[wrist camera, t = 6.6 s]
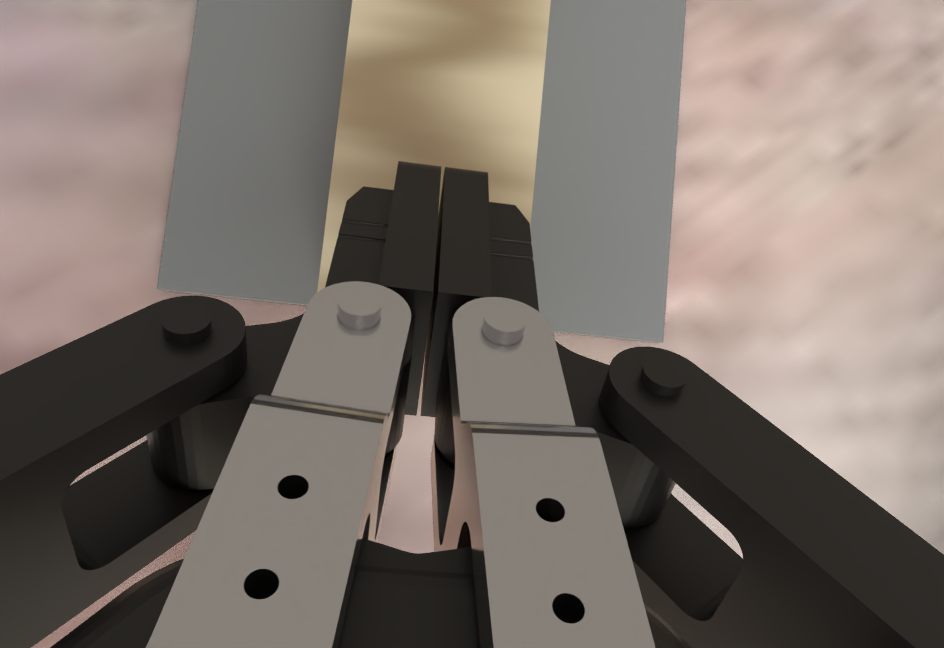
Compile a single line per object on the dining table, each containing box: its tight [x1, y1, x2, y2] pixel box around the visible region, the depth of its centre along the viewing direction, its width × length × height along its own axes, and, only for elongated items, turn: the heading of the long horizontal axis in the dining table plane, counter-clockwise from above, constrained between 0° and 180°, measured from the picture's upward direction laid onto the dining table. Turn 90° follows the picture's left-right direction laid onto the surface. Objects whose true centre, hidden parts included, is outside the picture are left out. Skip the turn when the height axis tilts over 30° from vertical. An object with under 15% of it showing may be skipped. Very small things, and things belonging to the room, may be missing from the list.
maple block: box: [317, 0, 551, 349], centre depth 20 cm, size 4×4×12 cm
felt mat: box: [157, 0, 686, 343], centre depth 22 cm, size 14×14×1 cm
